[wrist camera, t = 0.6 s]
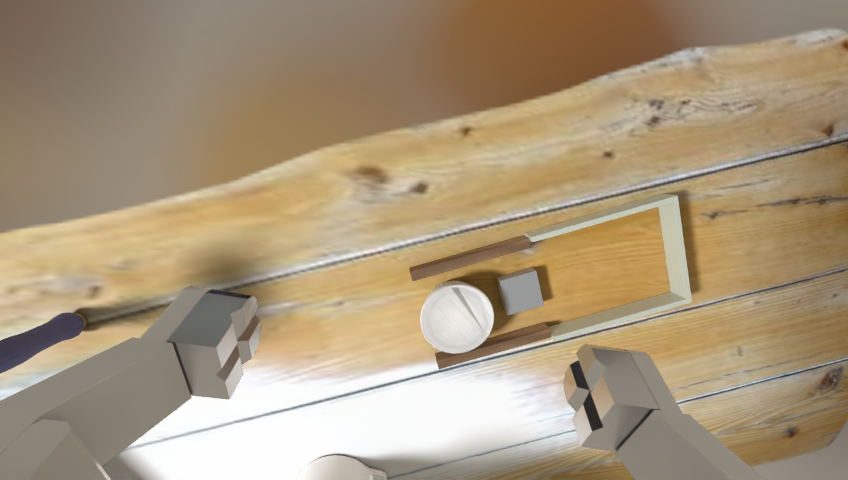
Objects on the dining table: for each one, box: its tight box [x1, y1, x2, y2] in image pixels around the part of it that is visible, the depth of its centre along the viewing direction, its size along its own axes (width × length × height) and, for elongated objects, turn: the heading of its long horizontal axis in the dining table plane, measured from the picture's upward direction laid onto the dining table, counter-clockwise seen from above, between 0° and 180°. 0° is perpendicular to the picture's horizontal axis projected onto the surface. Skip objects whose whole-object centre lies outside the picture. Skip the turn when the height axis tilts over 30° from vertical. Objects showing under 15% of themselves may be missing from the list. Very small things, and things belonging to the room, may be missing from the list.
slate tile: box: [496, 267, 544, 315], centre depth 59 cm, size 6×6×2 cm
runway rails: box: [410, 235, 552, 369], centre depth 59 cm, size 17×19×2 cm
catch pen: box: [524, 194, 692, 341], centre depth 58 cm, size 18×23×4 cm
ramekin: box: [420, 280, 494, 354], centre depth 57 cm, size 11×11×5 cm
